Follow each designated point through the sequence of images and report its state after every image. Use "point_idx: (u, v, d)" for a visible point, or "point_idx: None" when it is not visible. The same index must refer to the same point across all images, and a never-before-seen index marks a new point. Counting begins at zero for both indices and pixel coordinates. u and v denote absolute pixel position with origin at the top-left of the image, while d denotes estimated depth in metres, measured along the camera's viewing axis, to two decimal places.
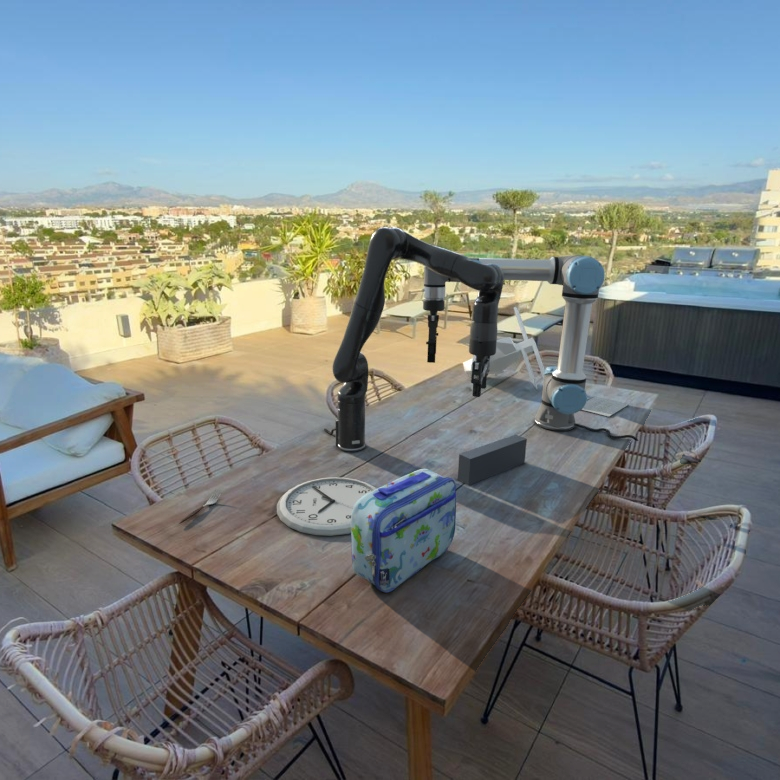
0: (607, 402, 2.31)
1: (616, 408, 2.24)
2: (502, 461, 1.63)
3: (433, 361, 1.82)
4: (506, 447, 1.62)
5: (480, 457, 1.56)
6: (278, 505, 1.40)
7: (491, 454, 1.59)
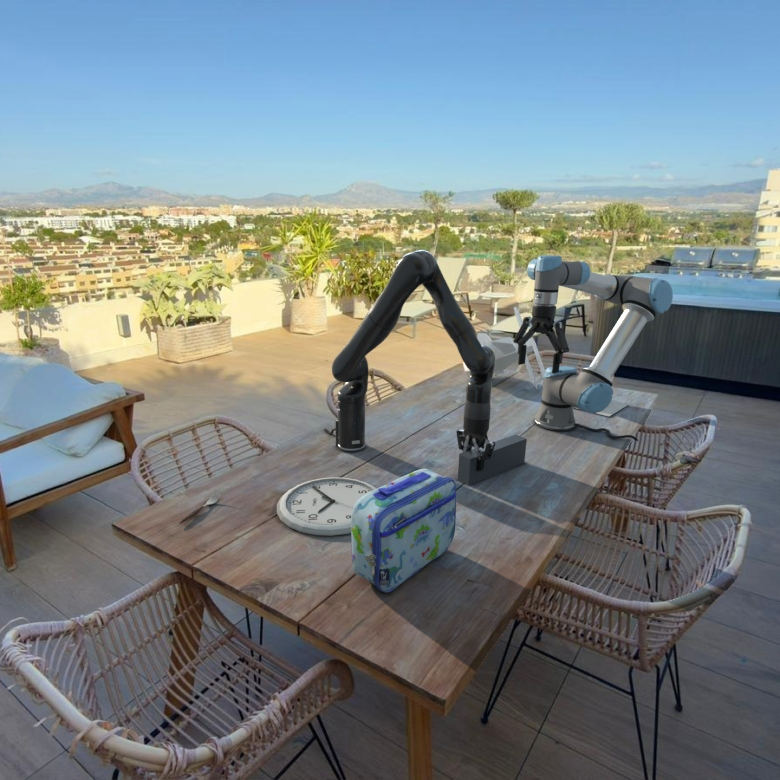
0: None
1: (616, 408, 2.24)
2: (502, 461, 1.63)
3: (557, 371, 1.70)
4: (506, 447, 1.62)
5: None
6: (278, 505, 1.40)
7: None
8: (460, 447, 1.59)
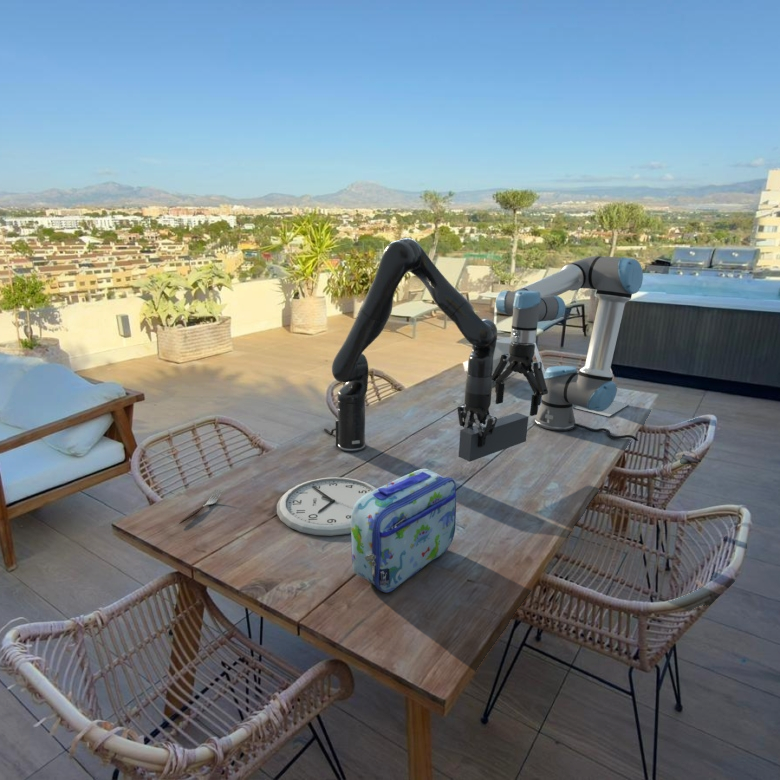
0: None
1: (616, 408, 2.24)
2: (503, 438, 1.61)
3: (536, 413, 1.60)
4: (507, 424, 1.60)
5: None
6: (278, 505, 1.40)
7: None
8: (461, 423, 1.57)
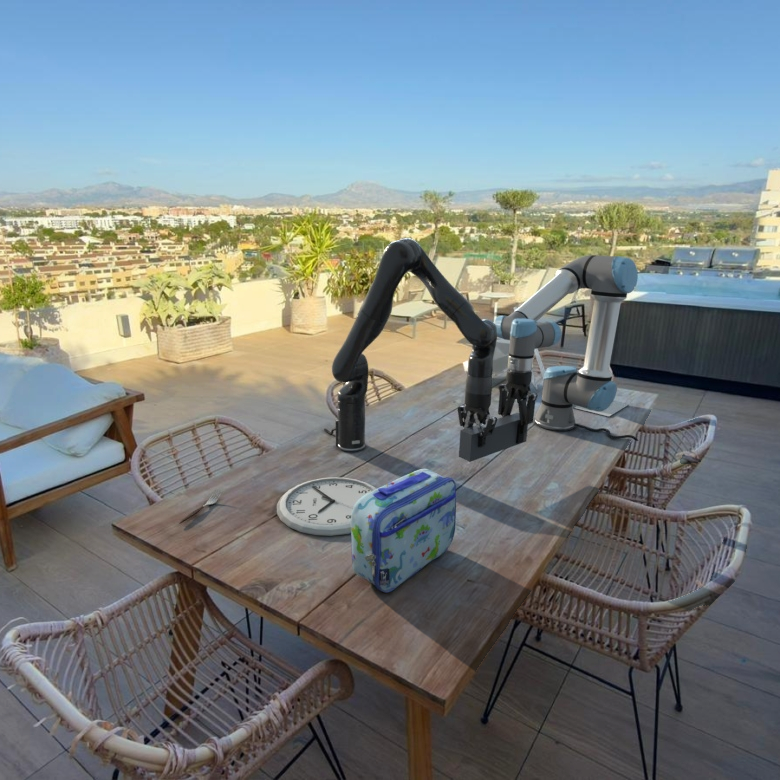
0: None
1: (616, 408, 2.24)
2: (504, 439, 1.61)
3: (522, 441, 1.66)
4: (507, 424, 1.60)
5: None
6: (278, 505, 1.40)
7: (493, 431, 1.56)
8: (461, 424, 1.57)
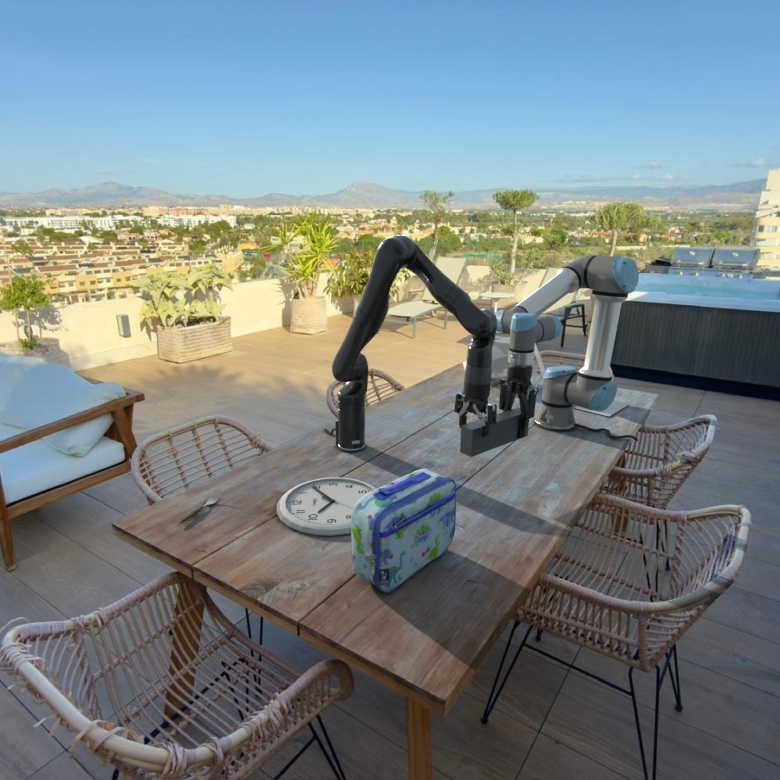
0: None
1: (616, 408, 2.24)
2: (505, 433, 1.60)
3: (523, 435, 1.65)
4: (508, 419, 1.60)
5: None
6: (278, 505, 1.40)
7: (494, 426, 1.56)
8: (456, 410, 1.57)
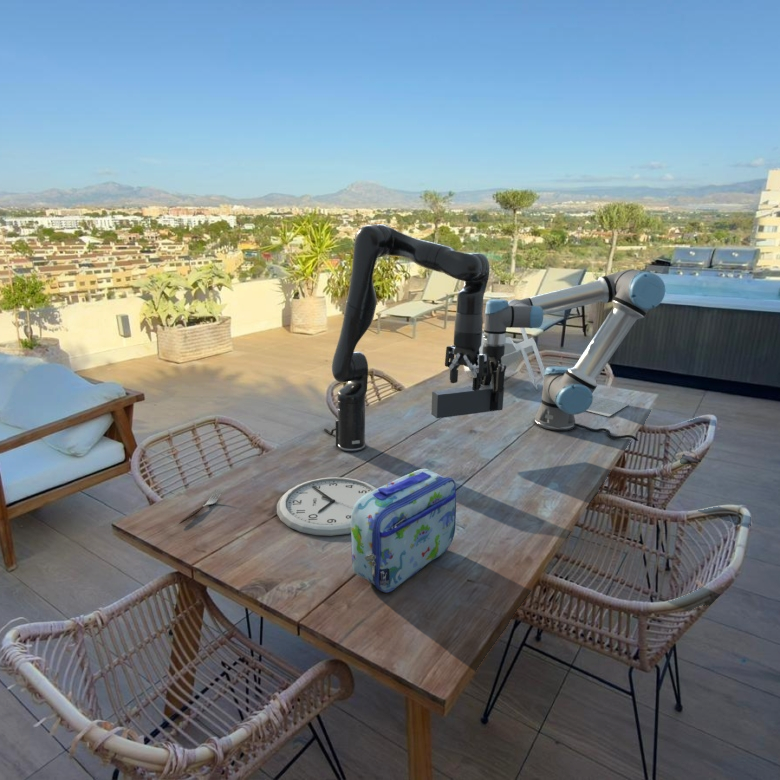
0: (607, 402, 2.31)
1: (616, 408, 2.24)
2: (475, 403, 1.84)
3: (496, 408, 1.87)
4: (479, 391, 1.83)
5: (449, 395, 1.79)
6: (278, 505, 1.40)
7: (462, 395, 1.81)
8: (446, 364, 1.49)
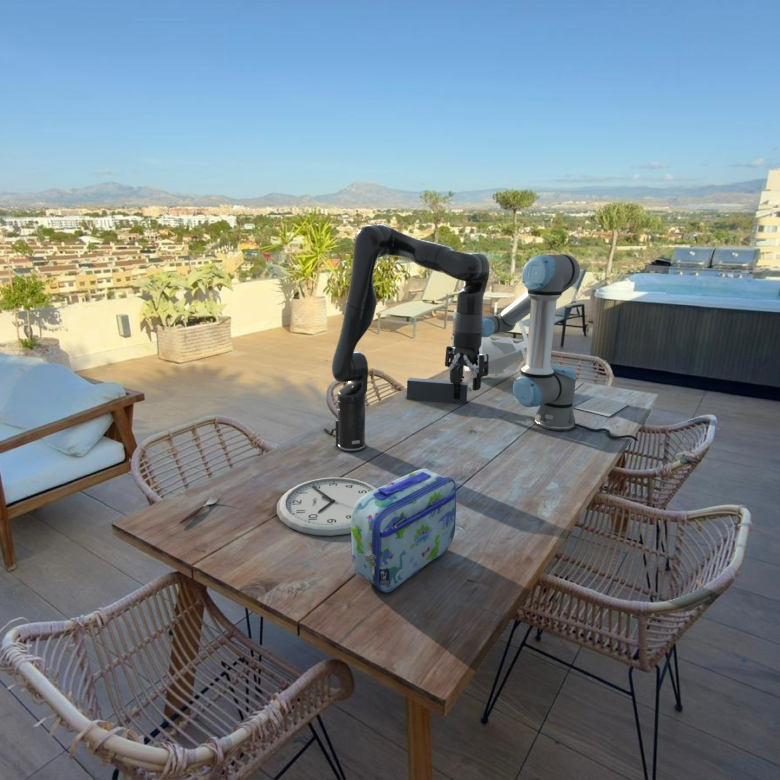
0: (607, 402, 2.31)
1: (616, 408, 2.24)
2: (440, 393, 2.28)
3: (458, 398, 2.24)
4: (443, 384, 2.27)
5: (417, 382, 2.29)
6: (278, 505, 1.40)
7: (428, 384, 2.28)
8: (446, 364, 1.49)
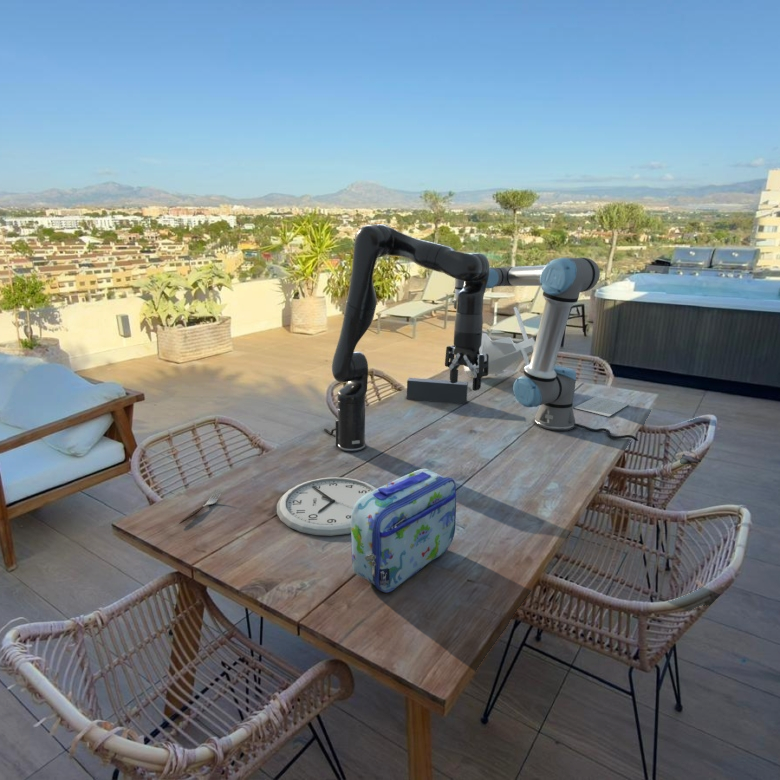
0: (607, 402, 2.31)
1: (616, 408, 2.24)
2: (440, 393, 2.28)
3: None
4: (443, 384, 2.27)
5: (417, 382, 2.29)
6: (278, 505, 1.40)
7: (428, 384, 2.28)
8: (446, 364, 1.49)
